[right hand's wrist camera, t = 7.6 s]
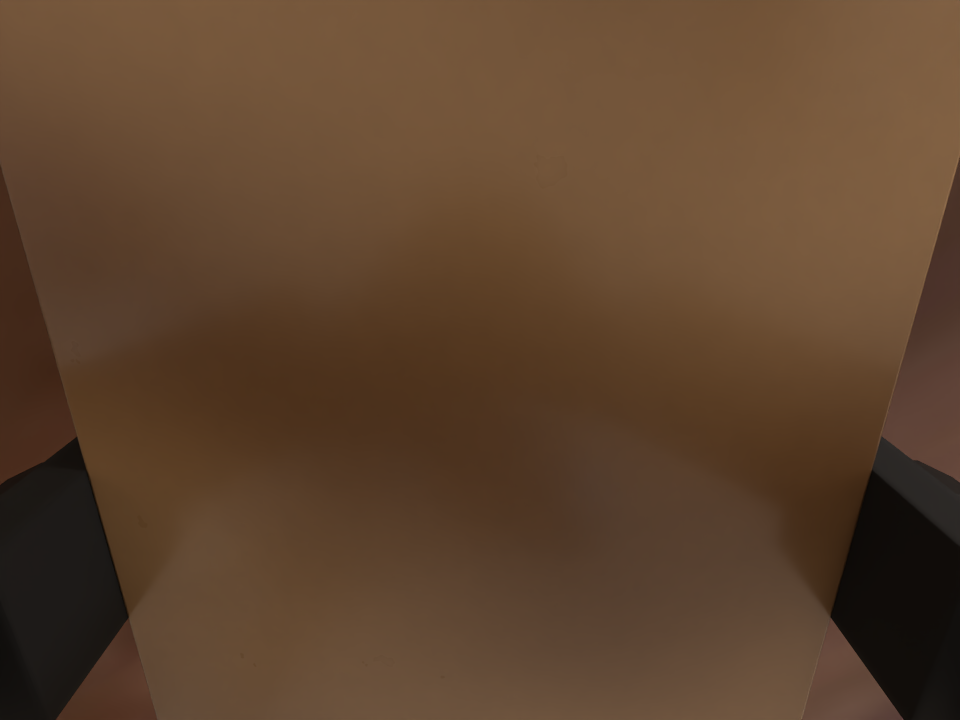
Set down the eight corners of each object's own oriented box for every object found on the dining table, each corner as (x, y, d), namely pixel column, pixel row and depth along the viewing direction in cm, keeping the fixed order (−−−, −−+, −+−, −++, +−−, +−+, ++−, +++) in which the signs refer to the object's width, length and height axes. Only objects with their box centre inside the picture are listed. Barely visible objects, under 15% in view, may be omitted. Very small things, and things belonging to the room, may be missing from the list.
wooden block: (260, -15, 15) (-130, -279, 5) (697, -16, 15) (1085, -279, 5) (314, 445, 20) (160, 737, 10) (644, 444, 20) (798, 736, 10)
